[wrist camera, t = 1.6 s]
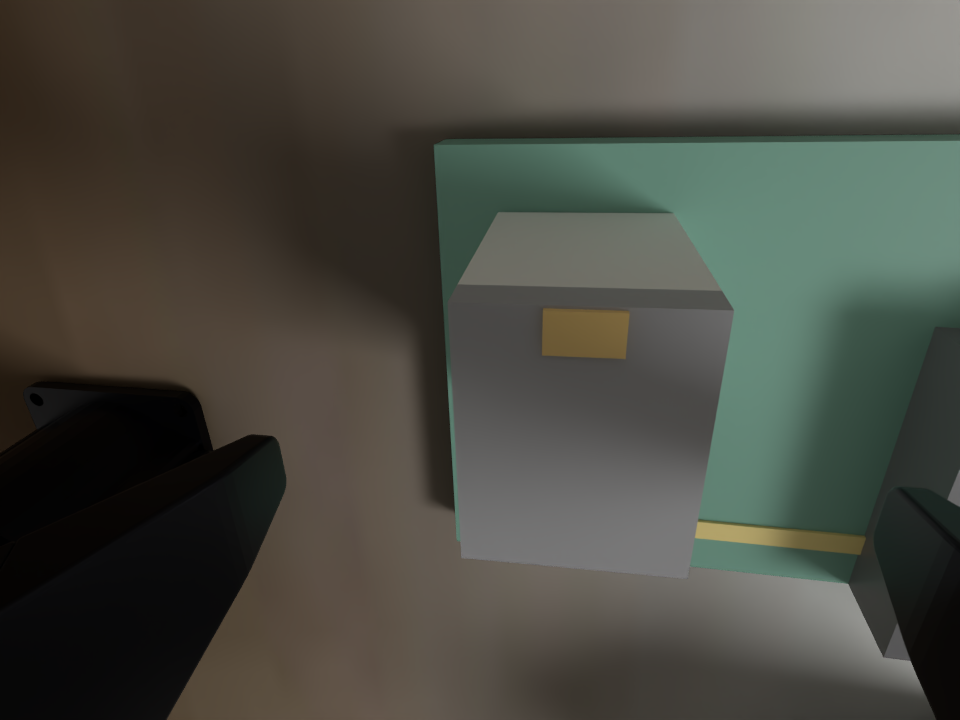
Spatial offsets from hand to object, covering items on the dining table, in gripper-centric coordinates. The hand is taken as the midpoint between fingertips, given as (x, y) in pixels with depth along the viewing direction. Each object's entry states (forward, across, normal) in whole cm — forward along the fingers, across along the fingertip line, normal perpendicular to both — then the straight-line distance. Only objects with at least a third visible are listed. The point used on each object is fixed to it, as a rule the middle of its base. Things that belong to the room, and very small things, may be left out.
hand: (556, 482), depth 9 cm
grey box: (+7, 0, 0) cm, 7 cm away
